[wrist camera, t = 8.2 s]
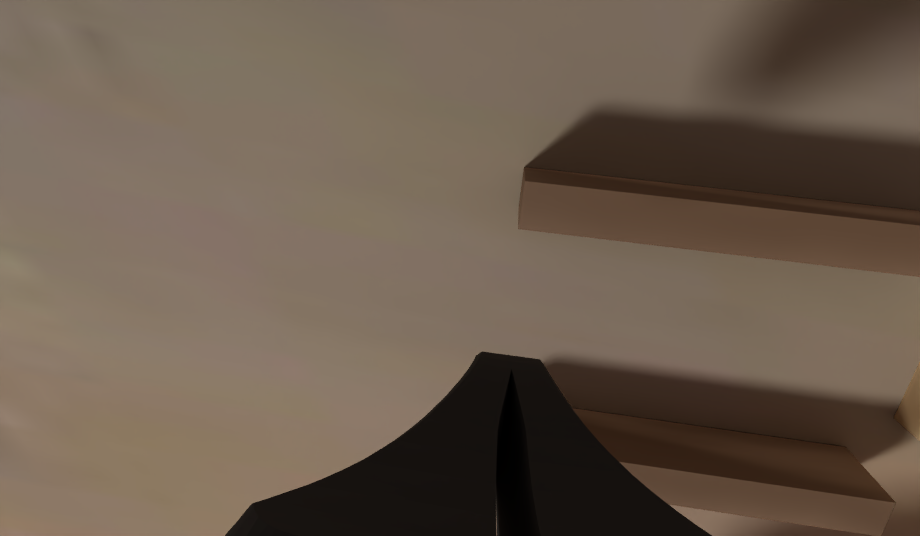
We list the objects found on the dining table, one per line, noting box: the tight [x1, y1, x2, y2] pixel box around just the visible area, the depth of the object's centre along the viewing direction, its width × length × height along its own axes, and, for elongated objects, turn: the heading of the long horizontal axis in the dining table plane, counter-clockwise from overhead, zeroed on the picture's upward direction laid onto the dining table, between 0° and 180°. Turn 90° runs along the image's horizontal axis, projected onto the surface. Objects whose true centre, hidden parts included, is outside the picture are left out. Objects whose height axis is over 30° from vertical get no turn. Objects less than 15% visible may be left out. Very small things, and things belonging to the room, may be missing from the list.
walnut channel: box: [518, 167, 920, 536], centre depth 19 cm, size 11×14×3 cm
